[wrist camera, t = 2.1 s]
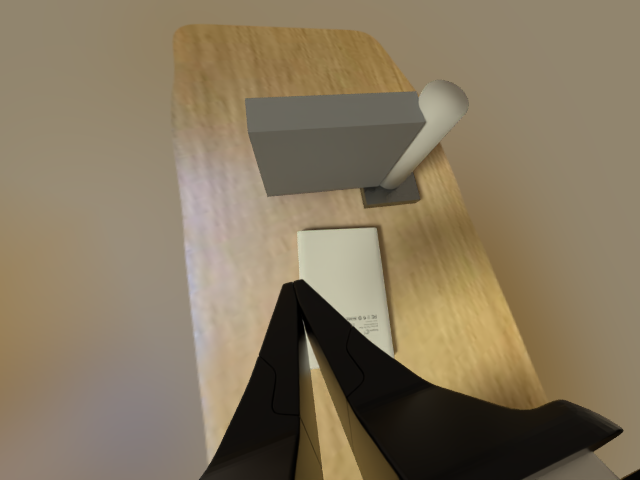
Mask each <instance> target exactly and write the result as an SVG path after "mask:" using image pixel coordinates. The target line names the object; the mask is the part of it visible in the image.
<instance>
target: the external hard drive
mask: <svg viewBox="0 0 640 480" xmlns="http://www.w3.org/2000/svg"><path fill="white" fill-rule="evenodd" d="M297 239H298V257H299V274H300V279H303V280H304V281H305V282H307V283H308V284H309V285H310V286H311V287H312V288H313V289H314V290H315V291H316V292H317V293H318V294H319V295H321V296H322V297H323V298H324V299H325V300H326V301H327V302H328V303H329V304H330V305H331V306H332V307H333V308H335V309H336V310H337V311H338V312H339V313H340V314H341V315H342V316H343V317H344V318H345V319H346V320H347V321H349V322H350V323H351V324H352V326H354V327H355V328H356V329H357V330H358V331H359V332H361V333H362V334H363V335H364V336H365V337H366V338H368V339H369V340H370V341H371V342H372V343H374V344H375V345H376V346H378V347H379V348H380V349H381V350H383V351H384V352H386V353H387V354H388V355H390V356H391V357H392V358H394V351H393V344H392V336H391V329H390V321H389V313H388V306H387V299H386V291H385V284H384V277H383V269H382V262H381V255H380V248H379V241H378V234H377V228H374V227H372V228H350V229H328V230H306V231H298V232H297ZM303 324H304V323H303ZM304 328H305V327H304ZM305 332H306V331H305ZM306 339H307V347H308V355H309V364H310V369H317V368H319V365H318V362H317V360H316V357H315V355H314V352H313V350H312V347H311V345H310V342H309V340H308V337H307V334H306Z"/></svg>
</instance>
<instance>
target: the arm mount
mask: <svg viewBox="0 0 640 480" xmlns="http://www.w3.org/2000/svg"><path fill="white" fill-rule="evenodd" d="M360 190H361V195H362V200H363V205H364V208H374V207H383V206H392V205H402V204H411V203H416V202H418V201H419V200H420V196H419V192H418V188H417V185H416V181H415V177H414V174H413V172H412V173H411V174H410V175H409V176H408V177H407V178H406V179H405V180H404V181H403V183H402V184H401V185H400V186H399V187H397V188H395V189H386V188H383V187H382V186H380V185H379V186H375V187H364V188H360Z"/></svg>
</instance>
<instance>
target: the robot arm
mask: <svg viewBox="0 0 640 480" xmlns="http://www.w3.org/2000/svg"><path fill="white" fill-rule="evenodd" d="M303 323H304V324H303ZM304 327H305V328H304ZM305 331H306V332H305ZM306 334H307V337H308V340H309V342H310V345H311V347H312V350H313V352H314V355H315V357H316V360H317V362H318V365H319V368H320V370H321V373H322V375H323V378H324V380H325V383H326V385H327V388H328V391H329V393H330V396H331V398H332V401H333V403H334V406H335V408H336V411H337V413H338V416H339V419H340V421H341V424H342V426H343V429H344V431H345V434H346V436H347V439H348V442H349V444H350V447H351V449H352V452H353V454H354V456H355V459H356V462H357V465H358V467H359V470H360V472H361V475H362V477H363V480H640V469H638V470H636V471H634V472H632V473H631V474H629V475H627V476H625V477H623V478H621V479H619V478H618V477H617V476H616V475H615V474H614V473H613V472H612V471H611V470H610V469H609V468H608V467H607V466H606V465H605V464H604V463H603V462H602V461H601V460H600V459H599V458H598V457H597V456H596V455H595V454H594V453H593V452H594V451H595V450H597V449H598V448H600V447H602V446H603V445H605V444H606V443H608V442H609V441H611V440H613V439H614V438H616V437H617V436H619V435H620V434H621V433H622V432H623V429H622V428H621V427H620V426H618V425H617V424H615V423H613V422H612V421H610V420H609V419H607V418H605V417H603V416H601V415H600V414H597V413H595V412H593V411H591V410H589V409H586V408H584V407H581V406H579V405H576V404H574V403H571V402H569V401H566V400H556V401H552V402H550V403H547V404H545V405H543V406H540V407H538V408H535V409H530V410H520V409H511V408H507V407H503V406H500V405H496V404H493V403H490V402H487V401H484V400H481V399H477V398H474V397H471V396H468V395H465V394H462V393H458V392H455V391H452V390H449V389H446V388H442V387H439V386H436V385H434V384H432V383H430V382H428V381H426V380H424V379H422V378H421V377H419V376H418V375H416V374H415V373H413V372H412V371H410V370H409V369H408V368H406V367H405V366H404V365H402V364H401V363H399V362H398V361H397V360H395V359H394V358H392V357H391V356H390V355H388V354H387V353H386V352H384V351H383V350H381V349H380V348H379V347H378V346H376V345H375V344H374V343H372V342H371V341H370V340H369V339H368V338H366V337H365V336H364V335H363V334H362V333H361V332H359V331H358V330H357V329H356V328H355V327H354V326H352V324H351V323H350V322H349V321H347V320H346V319H345V318H344V317H343V316H342V315H341V314H340V313H339V312H338V311H337V310H336V309H335V308H333V307H332V306H331V305H330V304H329V303H328V302H327V301H326V300H325V299H324V298H323V297H322V296H321V295H319V294H318V293H317V292H316V291H315V290H314V289H313V288H312V287H311V286H310V285H309V284H308V283H307V282H305V281H304V280H303V279H300V280H296V281H294V282H289V283H285V284H283V286H282V289H281V291H280V294H279V297H278V300H277V303H276V306H275V309H274V312H273V315H272V318H271V321H270V323H269V326H268V329H267V332H266V335H265V338H264V341H263V344H262V347H261V350H260V353H259V356H258V358H257V361H256V364H255V367H254V369H253V372H252V375H251V377H250V380H249V383H248V385H247V387H246V390H245V392H244V394H243V396H242V399H241V401H240V403H239V405H238V407H237V409H236V412H235V414H234V416H233V418H232V420H231V422H230V424H229V426H228V429H227V431H226V433H225V435H224V437H223V439H222V441H221V444H220V446H219V448H218V450H217V452H216V454H215V456H214V457H213V459H212V461H211V463H210V464H209V466H208V468H207V470H206V471H205V472H204V474H203V475H202V476H201V478H200V479H199V480H324V479H323V471H322V463H321V455H320V446H319V438H318V430H317V422H316V413H315V405H314V397H313V388H312V380H311V372H310V364H309V355H308V347H307V339H306Z"/></svg>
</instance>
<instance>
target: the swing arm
mask: <svg viewBox="0 0 640 480" xmlns="http://www.w3.org/2000/svg"><path fill="white" fill-rule="evenodd" d="M245 105H246V116H247V128H248V134H249V138H250V141H251V144H252V148H253V151H254V154H255V157H256V161H257V164H258V167H259V170H260V174H261V177H262V180H263V184H264V187H265V190H266V193H267V197H269V196H280V195H290V194H301V193H311V192H322V191H332V190H343V189H354V188H364V187H375V186H379V185H380V186H382V187H383V188H386V189H395V188H397V187H399V186H400V185H401V184H402V183H403V181H404V180H405V179H406V178H407V177H408V176H409V175H410V174H411V173H412V172H413V171H414V169H415V168H416V167H417V166H418V165H419V164H420V163H421V162H422V161H423V160H424V158H425V157H426V156H427V155H428V154H429V153H430V152H431V151H432V150H433V149H434V148H435V146H436V145H437V144H438V143H439V142H440V141H441V140H442V139H443V138H444V137H445V135H446V134H447V133H448V132H449V131H450V130H451V129H452V128H453V127H454V126H455V124H456V123H457V122H458V121H459V120H460V119H461V118H462V117H463V116H464V115H465V113H466V112H467V110H468V106H469V103H468V98H467V96H466V94H465V93H464V92H463V90H462V89H461V88H460V87H458V86H457V85H455V84H454V83H452V82H449V81H445V80H435V81H432V82H430V83H428V84H427V85H426V87H425V88H424V89H423V91H422V93H421V94H420V96H419V98H418V96H417V92H416V91H415V92H390V93H366V94H341V95H317V96H292V97H268V98H245Z"/></svg>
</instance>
